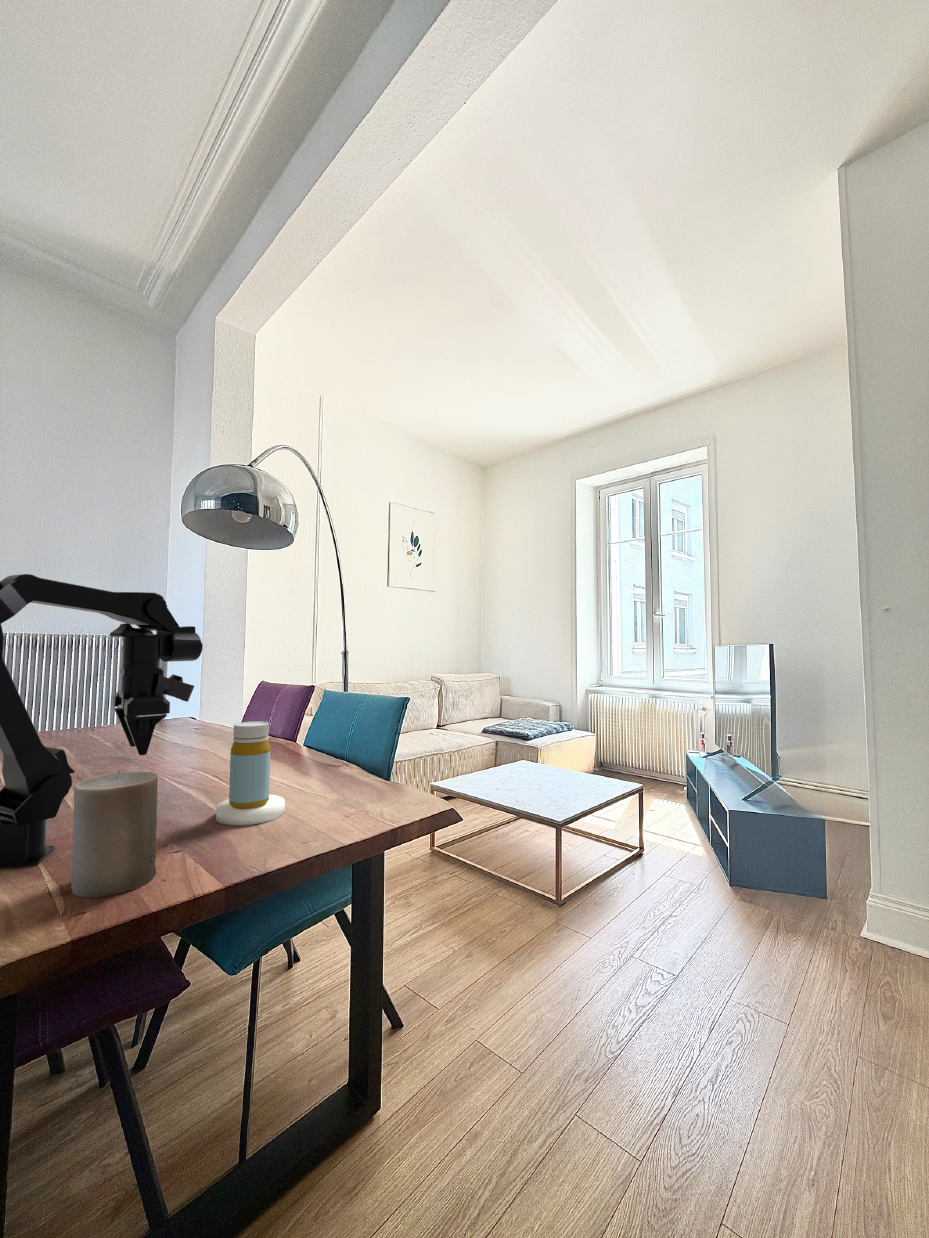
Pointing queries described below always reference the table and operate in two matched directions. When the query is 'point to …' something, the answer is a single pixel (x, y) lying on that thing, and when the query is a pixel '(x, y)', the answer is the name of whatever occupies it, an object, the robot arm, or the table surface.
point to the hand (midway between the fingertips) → (138, 750)
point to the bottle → (250, 765)
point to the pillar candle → (114, 833)
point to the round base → (250, 812)
